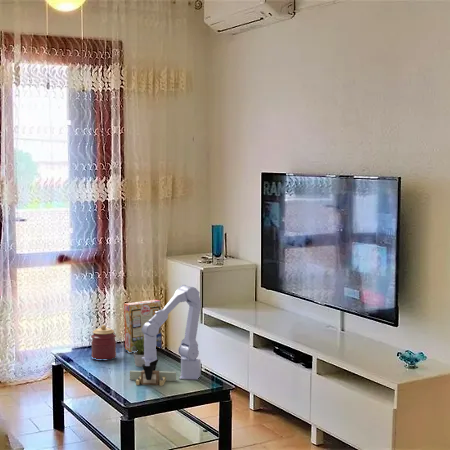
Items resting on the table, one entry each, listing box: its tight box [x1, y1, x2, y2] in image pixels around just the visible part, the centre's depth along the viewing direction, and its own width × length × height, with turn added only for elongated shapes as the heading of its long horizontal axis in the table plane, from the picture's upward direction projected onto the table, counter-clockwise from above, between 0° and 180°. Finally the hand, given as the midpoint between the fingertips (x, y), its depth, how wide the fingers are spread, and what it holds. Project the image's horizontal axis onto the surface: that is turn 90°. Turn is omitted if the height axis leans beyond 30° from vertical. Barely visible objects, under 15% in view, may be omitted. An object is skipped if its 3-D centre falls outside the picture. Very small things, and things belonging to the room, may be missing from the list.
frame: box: [140, 369, 160, 386], centre depth 335 cm, size 8×3×6 cm, turn 84°
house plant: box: [129, 334, 145, 368], centre depth 366 cm, size 14×14×16 cm
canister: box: [90, 324, 117, 360], centre depth 382 cm, size 13×13×18 cm
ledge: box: [129, 370, 177, 386], centre depth 337 cm, size 22×10×4 cm, turn 85°
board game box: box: [123, 299, 163, 352], centre depth 399 cm, size 20×6×27 cm, turn 126°
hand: (150, 377), depth 335 cm, fingers open, 7 cm apart
